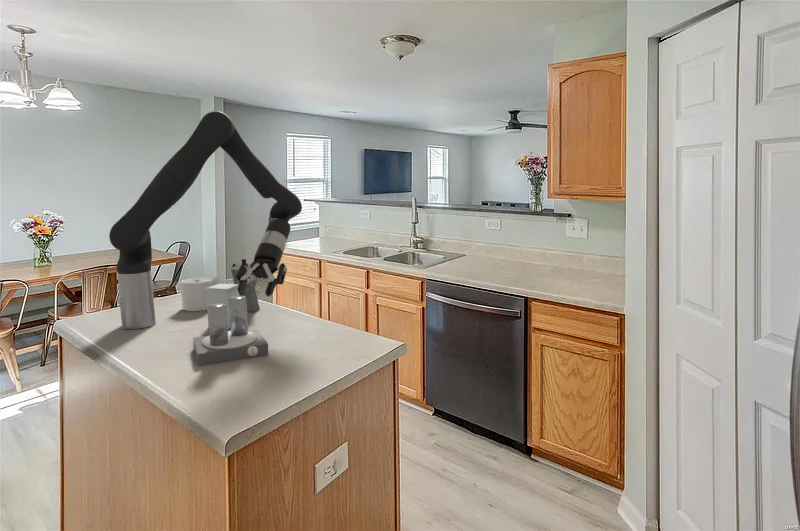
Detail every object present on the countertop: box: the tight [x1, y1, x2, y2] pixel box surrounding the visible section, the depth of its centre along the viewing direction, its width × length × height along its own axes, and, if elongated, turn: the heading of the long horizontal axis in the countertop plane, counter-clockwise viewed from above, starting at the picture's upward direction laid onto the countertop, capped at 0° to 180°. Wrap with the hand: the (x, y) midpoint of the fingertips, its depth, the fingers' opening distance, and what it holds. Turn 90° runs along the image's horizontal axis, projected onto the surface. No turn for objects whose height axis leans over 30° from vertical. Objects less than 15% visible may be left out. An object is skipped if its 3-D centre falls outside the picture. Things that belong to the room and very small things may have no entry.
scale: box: [192, 328, 269, 366], centre depth 130 cm, size 17×14×4 cm
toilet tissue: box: [180, 276, 221, 312], centre depth 175 cm, size 11×12×10 cm
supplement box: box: [206, 283, 239, 330], centre depth 153 cm, size 7×7×13 cm
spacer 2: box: [229, 296, 249, 336], centre depth 133 cm, size 4×4×10 cm
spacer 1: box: [207, 304, 229, 346], centre depth 125 cm, size 4×4×10 cm
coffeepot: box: [230, 258, 261, 314], centre depth 172 cm, size 15×9×18 cm, turn 44°
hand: (253, 294), depth 141 cm, fingers open, 8 cm apart
